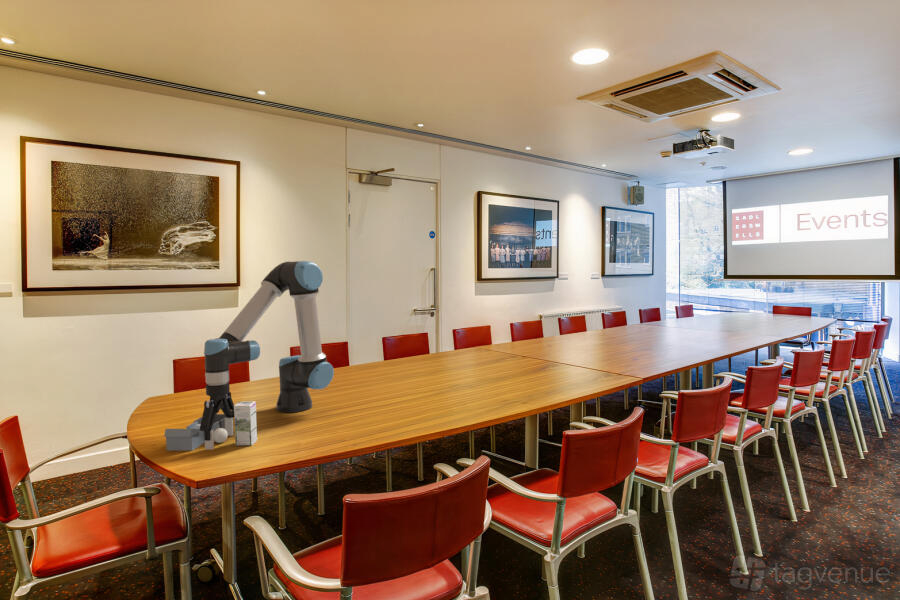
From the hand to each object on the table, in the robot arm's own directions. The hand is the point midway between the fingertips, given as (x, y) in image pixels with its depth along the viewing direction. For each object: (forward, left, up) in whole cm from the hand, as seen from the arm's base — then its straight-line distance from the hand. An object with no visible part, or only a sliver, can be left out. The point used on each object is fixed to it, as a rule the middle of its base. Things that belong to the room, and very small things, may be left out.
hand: (219, 442), depth 172 cm
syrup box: (-10, +1, 0) cm, 10 cm away
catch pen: (+10, -15, 0) cm, 18 cm away
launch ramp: (+10, -1, 0) cm, 10 cm away
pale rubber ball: (0, 0, +2) cm, 2 cm away
